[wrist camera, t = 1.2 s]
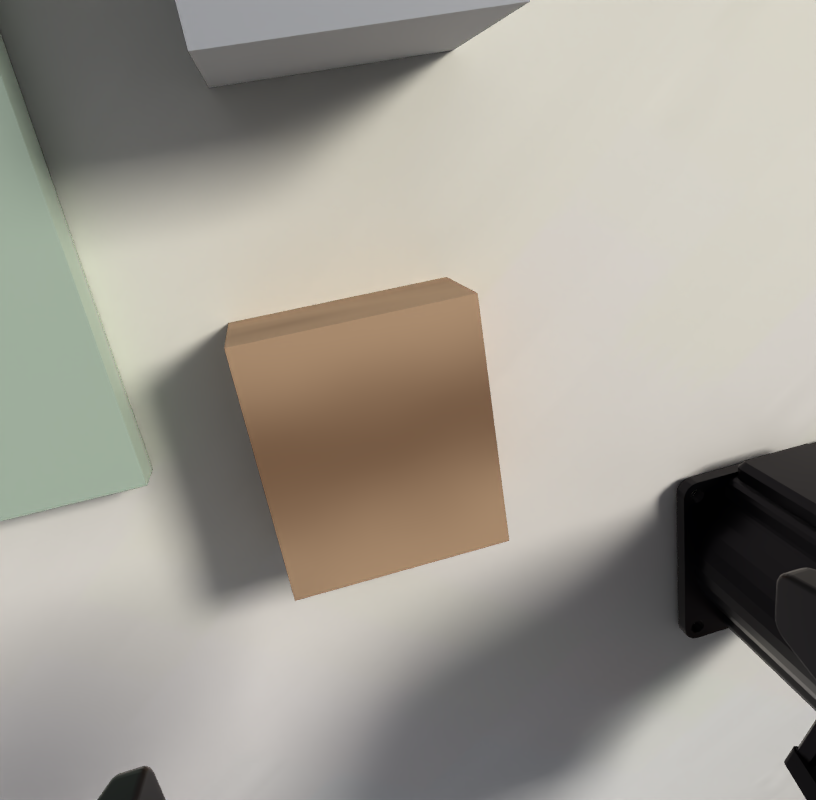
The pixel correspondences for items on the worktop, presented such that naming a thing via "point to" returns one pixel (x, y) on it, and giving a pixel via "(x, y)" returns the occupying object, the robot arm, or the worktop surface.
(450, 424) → the walnut block
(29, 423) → the baseplate
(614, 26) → the worktop surface
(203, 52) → the slate block
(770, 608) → the robot arm
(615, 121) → the worktop surface
